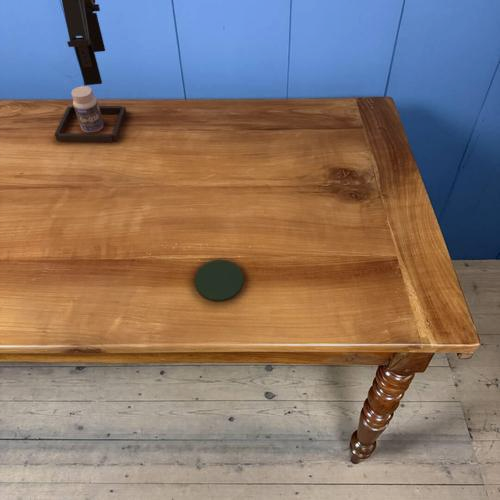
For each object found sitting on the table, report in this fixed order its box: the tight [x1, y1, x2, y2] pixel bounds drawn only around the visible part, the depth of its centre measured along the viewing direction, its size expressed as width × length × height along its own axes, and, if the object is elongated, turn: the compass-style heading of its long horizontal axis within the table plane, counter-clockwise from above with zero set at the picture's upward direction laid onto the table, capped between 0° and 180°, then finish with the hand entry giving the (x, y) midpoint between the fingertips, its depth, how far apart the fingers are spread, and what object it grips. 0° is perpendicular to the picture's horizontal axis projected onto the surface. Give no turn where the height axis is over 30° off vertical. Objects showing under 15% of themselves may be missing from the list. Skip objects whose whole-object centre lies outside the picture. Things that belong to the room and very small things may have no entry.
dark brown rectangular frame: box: [54, 104, 128, 143], centre depth 97 cm, size 13×11×2 cm
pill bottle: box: [71, 85, 105, 134], centre depth 94 cm, size 5×5×8 cm
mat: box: [194, 259, 244, 303], centre depth 72 cm, size 8×8×1 cm
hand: (95, 66), depth 81 cm, fingers open, 13 cm apart
